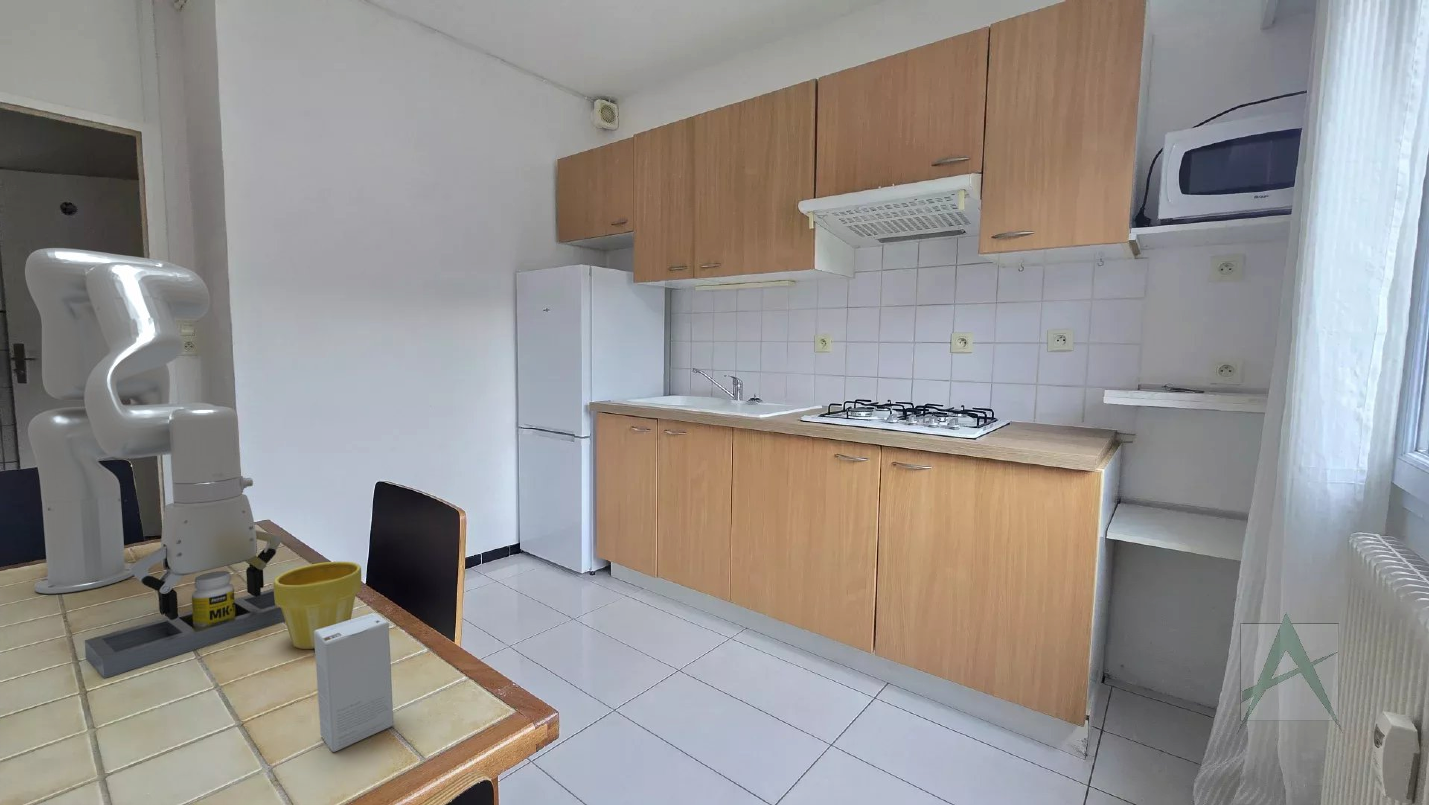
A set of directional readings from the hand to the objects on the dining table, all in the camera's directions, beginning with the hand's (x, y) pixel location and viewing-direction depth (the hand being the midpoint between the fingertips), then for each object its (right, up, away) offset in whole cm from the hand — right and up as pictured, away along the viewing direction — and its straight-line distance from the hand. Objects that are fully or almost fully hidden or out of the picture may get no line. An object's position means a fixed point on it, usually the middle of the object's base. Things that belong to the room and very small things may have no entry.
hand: (214, 605), depth 85 cm
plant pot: (+17, -4, -2) cm, 18 cm away
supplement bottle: (0, -4, 0) cm, 4 cm away
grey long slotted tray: (0, -4, 0) cm, 4 cm away
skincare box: (+35, -6, -23) cm, 43 cm away
